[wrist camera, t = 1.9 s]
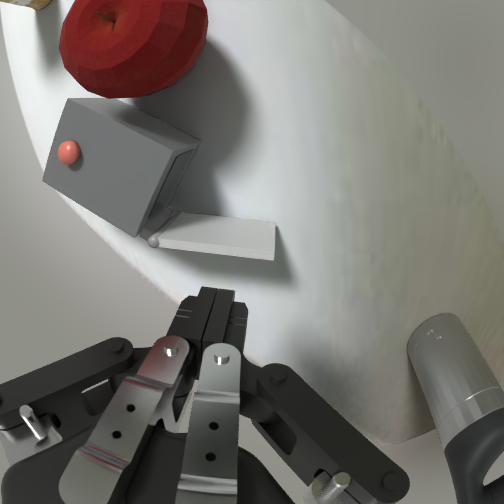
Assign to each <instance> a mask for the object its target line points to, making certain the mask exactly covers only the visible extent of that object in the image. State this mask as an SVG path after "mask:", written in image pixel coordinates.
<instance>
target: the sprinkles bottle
mask: <svg viewBox="0 0 504 504" xmlns="http://www.w3.org/2000/svg"><path fill="white" fill-rule="evenodd" d="M0 1H1V2H6V3H11V4H15V5H20V6H27V7H30V8H33V9H35V10H39V9H42V8H44V7H45V6H46V5H48V4H49V2H50V1H51V0H0Z"/></svg>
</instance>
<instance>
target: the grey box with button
mask: <svg viewBox="0 0 504 504" xmlns="http://www.w3.org/2000/svg"><path fill="white" fill-rule="evenodd" d="M200 142H201V141H200V140H198V139H196V138H194V137H192V136H190V135H188V134H186V133H185V132H183V131H181V130H179V129H177V128H175V127H173V126H171V125H169V124H167V123H165V122H163V121H161V120H159V119H157V118H155V117H153V116H151V115H149V114H147V113H145V112H143V111H141V110H138V109H136V108H134V107H132V106H130V105H128V104H126V103H124V102H121V101H119V100H117V99H108V98H68V99H67V101H66V104H65V107H64V110H63V112H62V115H61V118H60V121H59V124H58V127H57V130H56V133H55V136H54V139H53V143H52V146H51V150H50V153H49V157H48V160H47V164H46V168H45V172H44V176H43V182H45V183H47V184H48V185H50V186H51V187H53V188H54V189H56V190H57V191H59V192H61V193H62V194H64V195H65V196H67V197H68V198H70V199H72V200H73V201H75V202H76V203H78V204H80V205H81V206H83V207H84V208H86V209H88V210H89V211H91V212H93V213H94V214H96V215H98V216H99V217H101V218H102V219H104V220H106V221H107V222H109V223H111V224H112V225H114V226H116V227H117V228H119V229H121V230H123V231H124V232H126V233H128V234H129V235H131V236H133V237H134V238H135V237H136V236H137V235H138V234H139V233H140V232H141V233H140V237H142V238H144V239H145V240H147V241H148V239H149V238H150V237H151V236H152V235H153V234H154V233H155V232H156V231H157V230H158V229H159V228H160V227H161V226H162V225H163V224H164V223H165V221H166V220H167V219H168V218H169V217H170V216H171V214H172V212H173V210H172V209H170V208H168V205H169V203H170V201H171V199H172V197H173V195H174V193H175V191H176V189H177V187H178V185H179V183H180V181H181V179H182V177H183V175H184V173H185V171H186V169H187V167H188V165H189V163H190V161H191V159H192V157H193V155H194V153H195V152H196V150H197V148H198V146H199V144H200Z"/></svg>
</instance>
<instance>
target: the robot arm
mask: <svg viewBox="0 0 504 504" xmlns="http://www.w3.org/2000/svg"><path fill="white" fill-rule="evenodd" d="M234 297H235V291H234V290H227V289H218V288H211V287H203V286H202V287H201V289H200V292H199V294H198V296H197V297H196V296H188V297H187V298H185V299H184V300H183V301H182V302H181V304H180V306H179V308H178V310H177V313H176V316H175V317H174V319H173V321H172V324H171V326H170V328H169V330H168V332H167V335H166V336H164V337H162V338H160V339H158V340H157V341H156V342H155V343H154V345H153V346H152V347H148V348H133V346H132V344H131V342H130V341H128V340H127V339H125V338H120V337H115V338H110V339H107V340H105V341H103V342H100V343H98V344H96V345H94V346H91V347H89V348H86V349H84V350H82V351H79V352H77V353H75V354H72V355H70V356H68V357H65V358H63V359H61V360H58V361H56V362H54V363H51V364H49V365H47V366H44V367H42V368H39V369H37V370H34V371H32V372H30V373H27V374H25V375H23V376H20V377H17V378H15V379H13V380H10V381H8V382H5V383H3V384H0V438H1V441H2V444H3V447H4V450H5V453H6V456H7V458H8V461H9V463H10V466H11V467H10V468H9V469H8V470H7V471H6V473H5V475H4V477H3V479H2V484H1V493H2V504H295V503H294V502H293V501H292V500H291V498H290V497H289V496H288V495H287V494H286V492H285V491H284V490H283V489H282V487H281V486H280V485H279V484H278V483H277V481H276V480H275V479H274V478H273V476H272V475H271V474H270V473H269V471H268V470H267V469H266V467H265V466H264V465H263V464H262V463H261V462H260V461H259V460H258V459H257V458H256V457H255V456H254V455H253V454H251V453H250V452H248V451H247V450H245V449H243V448H241V447H239V446H238V437H239V434H238V433H239V414H241V415H243V416H246V417H248V418H250V419H251V421H252V424H253V425H254V426H255V428H256V429H257V430H258V431H259V432H260V433H261V435H262V436H263V437H264V438H265V439H266V441H267V442H268V443H269V444H270V445H271V446H272V448H273V449H274V450H275V451H276V452H277V453H278V455H279V456H280V457H281V458H282V459H283V460H284V461H285V462H286V464H287V465H288V466H289V467H290V468H291V469H292V470H293V471H294V472H295V473H296V474H297V475H298V477H299V478H300V479H301V480H302V481H303V482H304V483H305V484H306V485H307V486H308V488H307V490H306V491H305V494H304V503H305V504H395V503H396V502H398V501H399V500H401V499H402V498H403V497H404V496H405V495H406V494H407V492H408V490H409V487H410V481H409V477H408V475H407V474H406V472H405V471H404V470H403V469H402V468H400V467H399V466H398V465H397V464H396V463H394V462H393V461H392V460H391V459H390V458H388V457H387V456H386V455H385V454H384V453H382V452H381V451H380V450H379V449H378V448H377V447H376V446H375V445H373V444H372V443H371V442H370V441H369V440H368V439H367V438H365V437H364V436H363V435H362V434H361V433H360V432H359V431H358V430H356V429H355V428H354V427H353V426H352V425H351V424H350V423H349V422H348V421H346V420H345V419H344V418H343V417H342V416H341V415H340V414H339V413H338V412H337V411H336V410H334V409H333V408H332V407H331V406H330V405H329V404H328V403H327V402H326V401H325V400H324V399H323V398H322V397H321V396H319V395H318V394H317V393H316V392H315V391H314V390H313V389H312V388H311V387H310V386H309V385H308V384H307V383H306V382H305V381H304V380H303V379H302V378H301V377H300V376H299V375H298V374H297V373H295V372H294V371H293V370H292V369H291V368H290V367H288V366H286V365H283V364H278V363H273V364H268V365H266V366H264V367H262V368H261V367H259V366H256V365H254V364H252V363H250V362H249V361H248V360H247V359H246V358H245V357H244V355H243V350H244V343H245V336H246V327H247V318H248V309H247V307H246V305H245V303H242V302H234ZM407 352H408V355H409V357H410V360H411V362H412V365H413V367H414V370H415V372H416V375H417V377H418V380H419V382H420V385H421V388H422V390H423V393H424V395H425V398H426V401H427V403H428V406H429V409H430V412H431V415H432V417H433V420H434V423H435V426H436V429H437V432H438V435H439V438H440V441H441V444H442V447H443V450H444V453H445V456H446V460H447V462H448V466H449V469H450V473H451V476H452V480H453V484H454V488H455V492H456V498H457V503H458V504H504V475H502V476H501V477H500V478H498V479H496V480H494V481H493V482H491V483H489V484H488V485H486V486H484V485H483V480H484V477H485V475H486V474H487V472H488V470H489V469H490V467H491V466H492V464H493V463H494V462H495V460H496V459H497V458H498V457H499V455H501V453H502V452H503V451H504V391H503V389H502V388H501V386H500V384H499V382H498V380H497V379H496V377H495V375H494V373H493V372H492V370H491V368H490V367H489V365H488V363H487V362H486V360H485V358H484V357H483V355H482V353H481V352H480V350H479V349H478V347H477V345H476V344H475V342H474V341H473V339H472V338H471V336H470V334H469V333H468V331H467V330H466V329H465V327H464V326H463V324H462V323H461V321H460V320H459V318H458V317H456V316H455V315H452V314H440V315H437V316H434V317H432V318H430V319H429V320H427V321H426V322H424V323H423V324H422V325H421V326H419V327H418V328H417V329H416V331H415V332H414V333H413V334H412V336H411V338H410V340H409V342H408V347H407ZM106 379H108V382H105V383H103V384H101V385H99V386H97V387H95V388H93V389H91V390H89V391H86V392H84V393H81V392H82V391H83V390H85V389H87V388H89V387H91V386H93V385H95V384H98V383H99V382H102V381H104V380H106ZM195 379H196V380H199V381H198V388H197V392H195V394H194V397H193V402H192V408H191V414H190V420H189V426H188V432H187V433H178V430H179V426H180V424H181V421H182V418H183V415H184V413H185V411H186V408H187V406H188V403H189V400H190V398H191V395H192V387H193V384H194V381H195ZM64 439H65V440H64ZM62 440H63V441H62Z"/></svg>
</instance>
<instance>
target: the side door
mask: <svg viewBox="0 0 504 504" xmlns="http://www.w3.org/2000/svg"><path fill="white" fill-rule="evenodd" d="M275 226H276V222H268V221H259V220H250V219H241V218H232V217H222V216H213V215H203V214H192V213H182V212H180V211H176V212H174V213H173V214H172V215H171V216H170V217H169V218H168V219H167V220H166V221H165V223H164V224H163V225H162V226H161V227H160V228H159V229H158V230H157V231H156V232H155V233H154V234H153V235H152V236H151V237H150V238H149V239H148V244H149V246H150V247H152V248H156V247H157V246H158V247H163V248H171V249H179V250H188V251H196V252H204V253H213V254H221V255H230V256H238V257H247V258H255V259H264V260H272V261H274V254H275Z"/></svg>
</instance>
